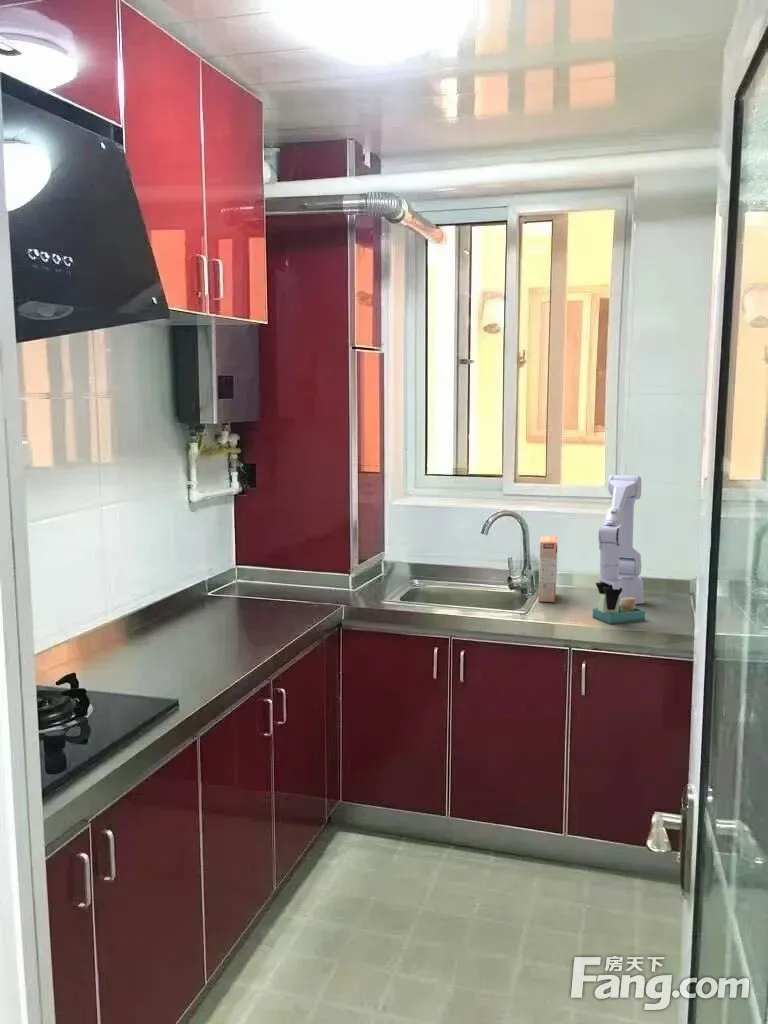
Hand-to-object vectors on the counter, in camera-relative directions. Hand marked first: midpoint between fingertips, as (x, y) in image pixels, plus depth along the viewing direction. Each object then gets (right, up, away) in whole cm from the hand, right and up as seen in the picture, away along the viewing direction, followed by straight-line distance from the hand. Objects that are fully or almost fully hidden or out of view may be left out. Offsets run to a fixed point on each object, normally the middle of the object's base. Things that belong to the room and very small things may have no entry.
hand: (608, 607), depth 272 cm
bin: (+4, -4, +2) cm, 6 cm away
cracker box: (-13, 0, +31) cm, 34 cm away
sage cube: (0, -1, 0) cm, 1 cm away
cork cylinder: (+7, -3, +3) cm, 8 cm away
